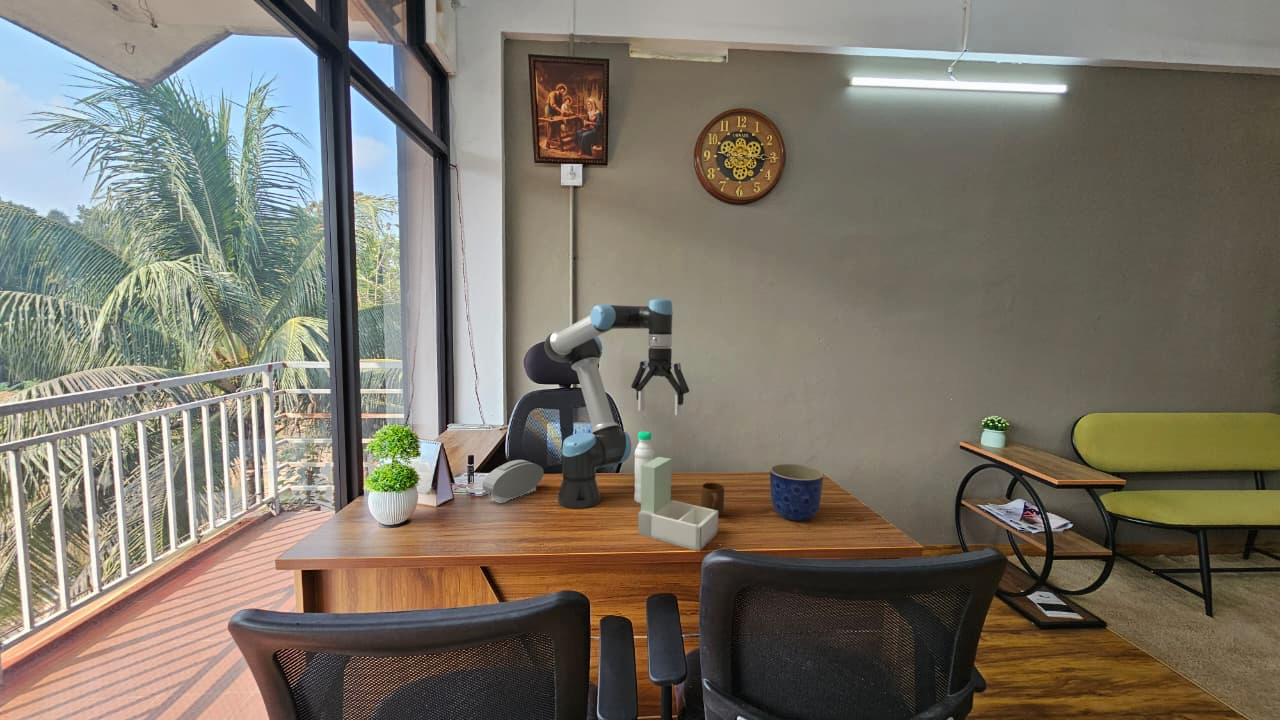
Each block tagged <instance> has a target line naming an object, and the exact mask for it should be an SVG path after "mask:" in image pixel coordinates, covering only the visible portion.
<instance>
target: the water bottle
mask: <svg viewBox="0 0 1280 720" xmlns="http://www.w3.org/2000/svg"><path fill="white" fill-rule="evenodd" d="M637 439H638V443H637V445H636V448H635V449H634V501H635V503H637V504H640V505H641V465H643V464H645V463H647V462H649V461H651V460H653V459H655V457H654V456H655V450H654V448H653V446H652V444H651V440H652V433H651V432H650V431H638V434H637Z"/></svg>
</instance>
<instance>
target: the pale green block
mask: <svg viewBox="0 0 1280 720" xmlns="http://www.w3.org/2000/svg"><path fill="white" fill-rule="evenodd" d="M671 495H672V458H668V457H663V456H657V457H654V459H653V460H651V461H649V462H647V463H645V464H643V465H641V504H640V511H645V512H649V513H653V514H654V513H656V512H657V511H658V510H660V509H661V508H663V507H664V506H665V505H667V504H668V503H670V502H671V500H672V497H671Z"/></svg>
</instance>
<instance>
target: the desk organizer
mask: <svg viewBox="0 0 1280 720" xmlns="http://www.w3.org/2000/svg"><path fill="white" fill-rule="evenodd" d="M637 525H638V528H637V531H638V535H639V536H642V537H646V538H649V539H652V540H656V541H660V542H663V543H666V542H667V543H666V544H671V545H673V546H678V547H682V548H685V549H689V550H691V551H695V550H699V551H700V550H701V548H702V547H703V548H705V546H706V545H707V544H709V543H710V542H711V540H712V539H713V538H715V536H716V535H718V533H719V517H718V510H713V509H709V508H704V507H701V505H694V504H691V503H687V502H681V501H679V500H675V499H674V500H672V499H671V502H670V503H668V504H667V505H665V506H664V507H663V508H661V509H660V510H658V511H657V512H656V513H654V514H653V513H649V512H645V511H641V510H640V511H638V523H637ZM703 548H702V549H703ZM699 551H698V552H699ZM700 552H701V551H700Z"/></svg>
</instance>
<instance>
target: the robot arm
mask: <svg viewBox="0 0 1280 720" xmlns="http://www.w3.org/2000/svg"><path fill="white" fill-rule="evenodd" d="M673 313H674V312H673V302H672V300H671V299H664V298H663V299H660V298H658V299H655V298H654V299H650V300H649V301H648V305H646V306H645V305H643V306H642V305H621V304H619V305H618V304H617V305H616V304H615V305H614V304H606V303H605V304H598V305H595V306H594V307H592V310H591V311H590V314H589V315H588V316H585V317H583V318H582V319H580V320H578V321H577V322H575V323H573V324H571V325H569V326H568V327H566V328H564V329H558V330H555V331H553V332H551V333H550V334H549V335H548V336H547V337H546V338H545V340H544V345H543V346H544V351H545V354H546V355H547V356H548V358H550V359H551V360H552V361H555V362H557V363H569V364H570V368H571V369H572V370H573V371H575V372H576V374H577V378H578V381H579V385H580V388H581V392H582V395H583V399H584V402H585V406H586V410H587V412H588V417H589V421H590V425H591V427H592V430H591V431H590V432H583V433H582V432H581V433H575V434H571V435H569V436H568V437H566V438H565V439H564V440H563V443H562V451H561V453H562V482H561V484H560V487H559V491H558V494H557V502H558V504H559V505H560V506H563V507H565V508H569V509H570V508H571V509H585V508H591V507H593V506H596V505H597V504H599V503H600V502H601V492H600V489H599V486H598V482H597V480H596V479H597V478H596V471H597V469H601V468H605V467H609V466H613V465H614V466H617V465H618V464H620V463H621V464H622V463H624V462H626V461H627V460H628V459H629V458H630V455H631V452H632V441H631V440H632V439H631V437H630V435H629V433H627V432H626V431H623V430H622V428H621V427H620V424H618V423H617V422H616V421H615V420H614V415H613V413H612V410H611V406H610V403H609V400H608V396H607V393H606V389H605V386H604V383H603V380H602V377H601V372H600V370H599V363H600V362H601V360H600V359H601V357H602V354H603V344H602V341H601V340H600V338H599V336H600V335H602V334H603V335H604V334H605V333H606V332H609V331H611V330H614V329H619V330H620V329H629V330H630V329H631V330H633V329H636V330H637V329H641V330H643V329H645V330H646V329H648V347H649V348H648V355H647V356H648V361H646V360H643V361H640V362H639V368H638V370H637V372H636V374H635V377H634V379H633V382H632V383H631V386H630V387H631V389H633V390H636V397H635V398H636V400H637V401H638V405H637V407H638V408H637V409H638V412H639V411H640V412H641V411H645V395H646V394H645V390H644V388H645V387H646V385H647V384H648V383H649V382H650V380H651V379H652V378H653V377H664V378H665V379H666V380H667V381H668V382H669V384H670V385H671V387H672V388H673V390H674V391H675V392H676V394H675V395H674V416H679V415H681V414H682V413H681V412H682V405H684V395H685V394H688V393H690V388H689V386H688V384H687V381H686V378H685V377H684V374H683V372H682V368H681V367H682V366H681V362H680V363H679V362H678V363H677V362H676V363H673V362H672V359H673V358H672V356H673V354H672V353H673V352H672V351H673V350H672V348H671V347H672V345H673ZM647 368H648V369H649V370H648V371H647V373H646V375H645V376H644V374H645V372H646V370H647ZM671 370H673V371H674V374H673V373H672V371H671ZM674 375H675V376H674ZM643 376H644V377H643Z"/></svg>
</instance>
